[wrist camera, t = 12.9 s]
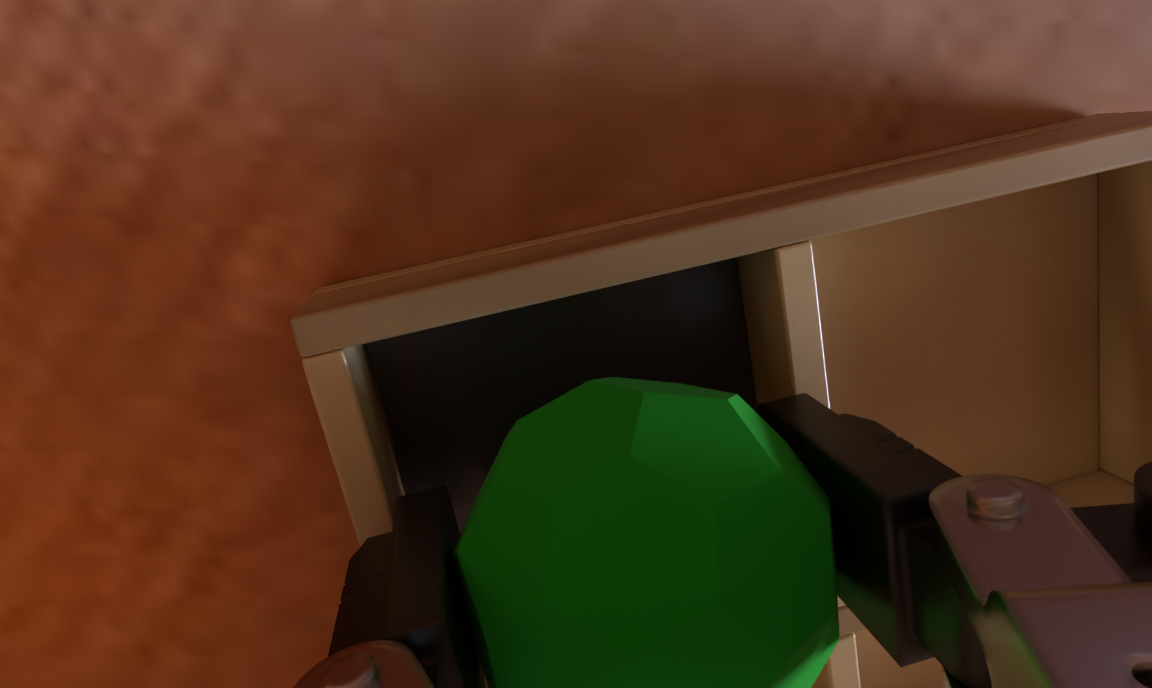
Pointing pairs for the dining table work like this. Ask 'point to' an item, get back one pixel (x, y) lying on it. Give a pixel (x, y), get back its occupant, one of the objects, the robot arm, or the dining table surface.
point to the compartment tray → (786, 327)
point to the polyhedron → (649, 547)
